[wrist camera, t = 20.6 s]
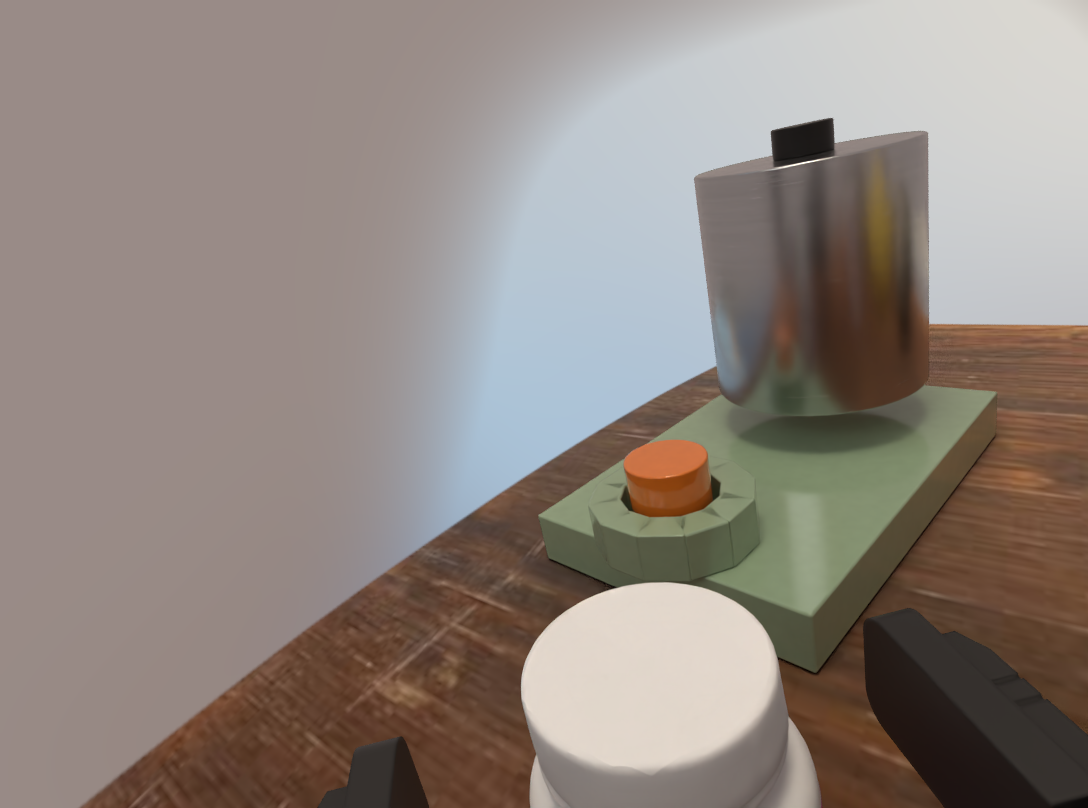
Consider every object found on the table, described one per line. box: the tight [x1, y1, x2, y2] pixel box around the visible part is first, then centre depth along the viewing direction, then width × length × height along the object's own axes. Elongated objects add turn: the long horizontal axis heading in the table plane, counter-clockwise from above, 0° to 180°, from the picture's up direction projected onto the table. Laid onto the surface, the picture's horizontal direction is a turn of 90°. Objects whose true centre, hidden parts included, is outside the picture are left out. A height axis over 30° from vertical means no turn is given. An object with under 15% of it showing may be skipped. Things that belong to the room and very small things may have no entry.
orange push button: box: [623, 440, 713, 517], centre depth 24 cm, size 3×3×2 cm
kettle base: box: [538, 385, 997, 673], centre depth 28 cm, size 19×12×4 cm, turn 133°
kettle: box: [694, 118, 929, 416], centre depth 29 cm, size 9×9×11 cm
